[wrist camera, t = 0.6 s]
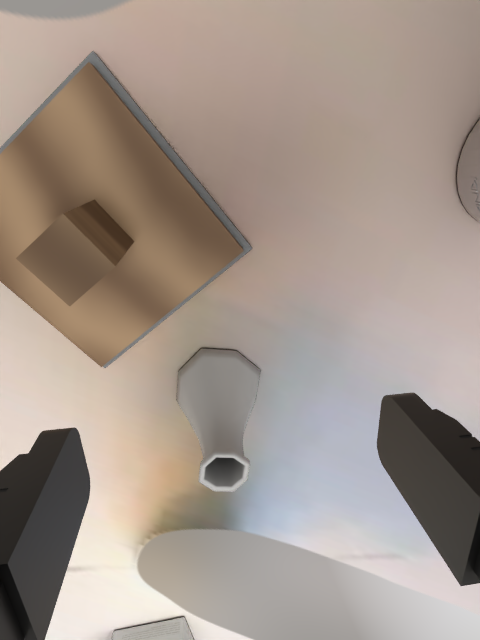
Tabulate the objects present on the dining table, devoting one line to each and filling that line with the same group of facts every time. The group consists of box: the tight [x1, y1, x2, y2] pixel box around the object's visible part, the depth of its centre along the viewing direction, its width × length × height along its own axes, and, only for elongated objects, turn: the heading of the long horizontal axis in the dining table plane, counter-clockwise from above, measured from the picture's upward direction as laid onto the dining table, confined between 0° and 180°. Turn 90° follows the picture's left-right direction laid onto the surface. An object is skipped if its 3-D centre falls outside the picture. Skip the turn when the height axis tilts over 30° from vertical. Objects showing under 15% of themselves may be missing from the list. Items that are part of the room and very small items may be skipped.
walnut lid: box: [0, 62, 244, 367], centre depth 23 cm, size 14×14×7 cm
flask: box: [176, 349, 261, 492], centre depth 28 cm, size 7×7×10 cm
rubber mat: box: [0, 51, 252, 368], centre depth 26 cm, size 15×15×1 cm
